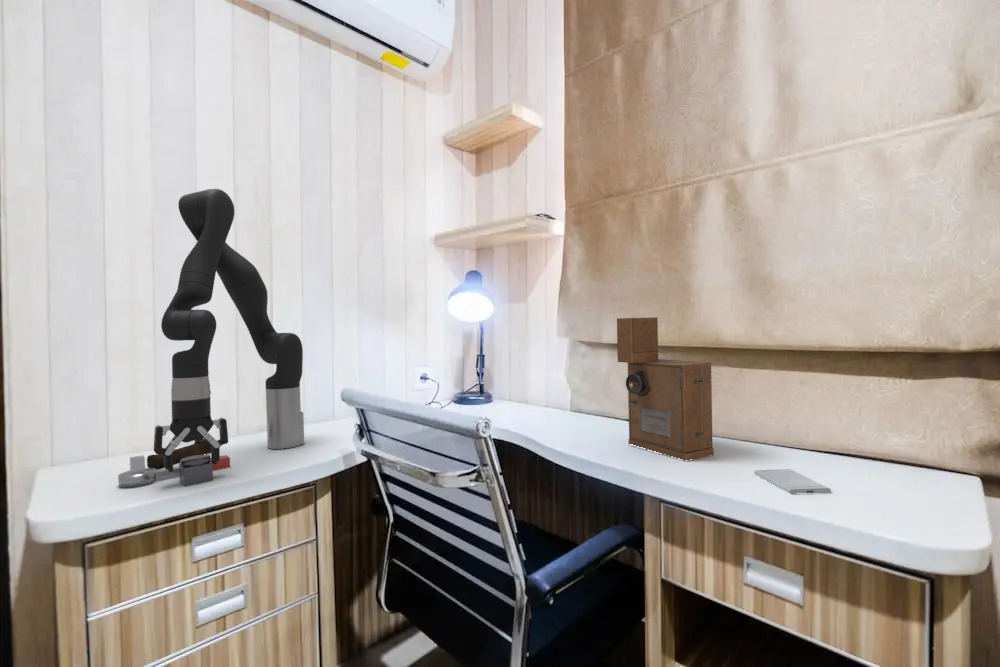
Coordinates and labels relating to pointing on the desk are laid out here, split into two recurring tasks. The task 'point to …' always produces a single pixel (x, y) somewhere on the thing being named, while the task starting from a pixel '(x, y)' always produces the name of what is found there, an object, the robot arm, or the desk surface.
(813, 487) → the hard drive
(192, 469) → the block with domed cap
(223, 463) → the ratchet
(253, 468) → the desk surface
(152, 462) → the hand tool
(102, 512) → the desk surface
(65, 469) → the desk surface
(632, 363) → the vintage camera
